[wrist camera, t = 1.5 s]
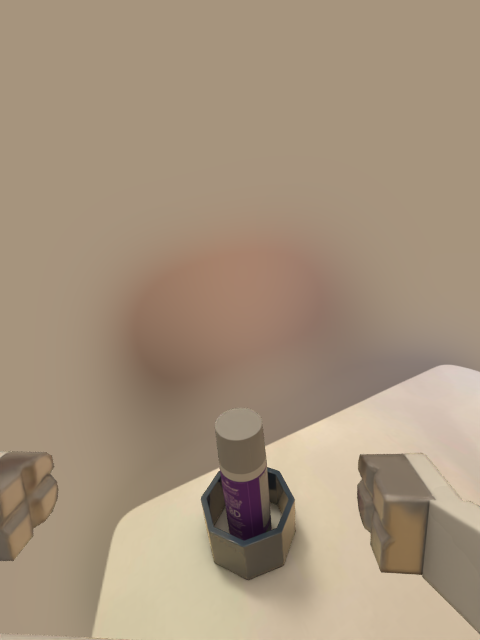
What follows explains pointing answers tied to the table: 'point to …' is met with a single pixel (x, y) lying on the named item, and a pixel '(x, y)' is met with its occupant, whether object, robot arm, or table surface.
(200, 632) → the table surface
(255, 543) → the octagonal ring
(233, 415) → the container
